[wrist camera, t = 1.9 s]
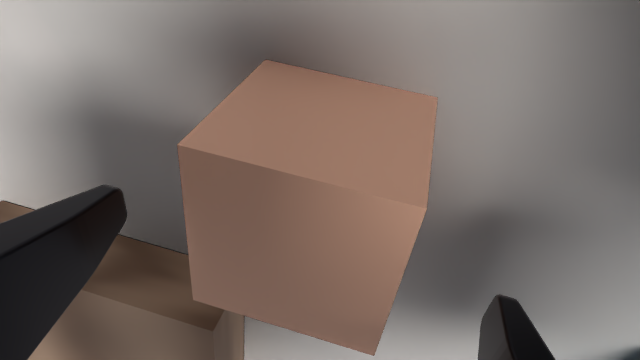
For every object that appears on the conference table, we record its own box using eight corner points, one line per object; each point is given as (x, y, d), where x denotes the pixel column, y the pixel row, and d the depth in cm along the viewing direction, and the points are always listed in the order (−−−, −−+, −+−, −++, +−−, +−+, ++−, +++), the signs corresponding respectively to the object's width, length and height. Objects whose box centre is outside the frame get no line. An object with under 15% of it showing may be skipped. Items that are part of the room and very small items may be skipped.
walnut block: (245, 271, 18) (213, 331, 16) (242, 404, 25) (220, 459, 23) (2, 200, 20) (-60, 244, 17) (65, 344, 27) (27, 389, 25)
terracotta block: (437, 96, 12) (427, 208, 8) (396, 227, 15) (373, 355, 11) (266, 58, 12) (177, 144, 8) (260, 191, 15) (193, 299, 12)
